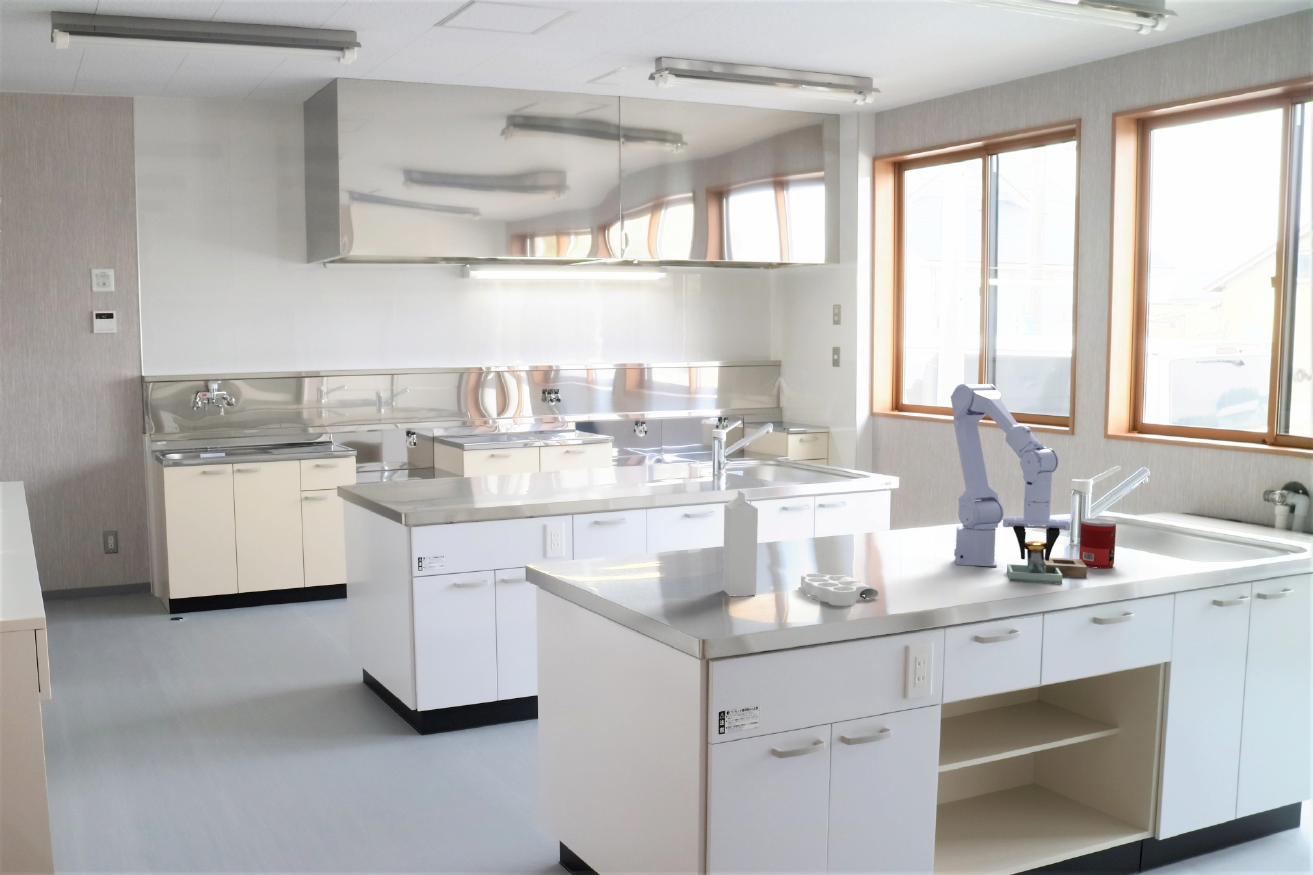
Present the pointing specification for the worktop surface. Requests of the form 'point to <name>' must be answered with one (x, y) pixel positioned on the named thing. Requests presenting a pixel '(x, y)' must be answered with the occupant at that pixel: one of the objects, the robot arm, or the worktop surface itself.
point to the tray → (1033, 574)
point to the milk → (740, 547)
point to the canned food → (1097, 542)
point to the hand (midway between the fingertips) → (1034, 559)
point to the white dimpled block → (836, 589)
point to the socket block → (1067, 566)
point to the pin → (1035, 556)
